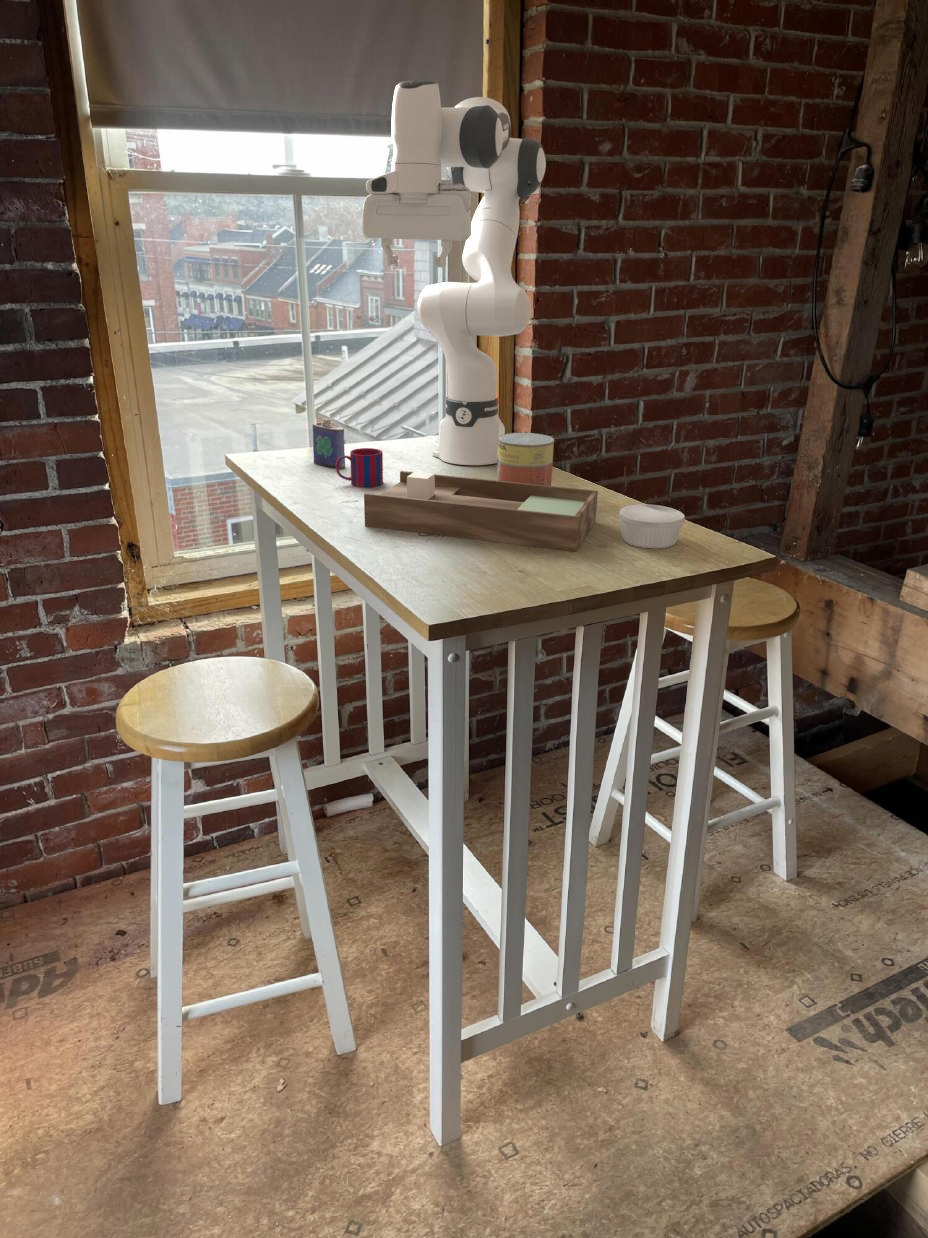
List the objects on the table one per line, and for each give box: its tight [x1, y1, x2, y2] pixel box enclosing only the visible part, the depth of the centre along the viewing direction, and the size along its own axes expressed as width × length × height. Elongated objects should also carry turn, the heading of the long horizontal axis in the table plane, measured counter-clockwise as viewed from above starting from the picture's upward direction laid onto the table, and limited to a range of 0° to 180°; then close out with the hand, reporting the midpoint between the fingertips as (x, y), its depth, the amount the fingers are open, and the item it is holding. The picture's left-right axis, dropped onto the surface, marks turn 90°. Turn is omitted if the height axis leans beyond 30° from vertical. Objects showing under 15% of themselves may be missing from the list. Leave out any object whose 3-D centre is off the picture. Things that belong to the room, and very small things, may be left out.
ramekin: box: [618, 503, 686, 549], centre depth 159 cm, size 11×11×5 cm
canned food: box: [496, 432, 555, 486], centre depth 182 cm, size 11×11×12 cm
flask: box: [312, 417, 346, 470], centre depth 204 cm, size 9×3×11 cm, turn 52°
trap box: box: [363, 470, 599, 553], centre depth 166 cm, size 18×39×6 cm, turn 72°
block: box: [407, 471, 436, 500], centre depth 168 cm, size 4×4×4 cm
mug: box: [335, 447, 384, 488], centre depth 190 cm, size 7×10×7 cm
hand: (416, 266), depth 167 cm, fingers open, 8 cm apart
